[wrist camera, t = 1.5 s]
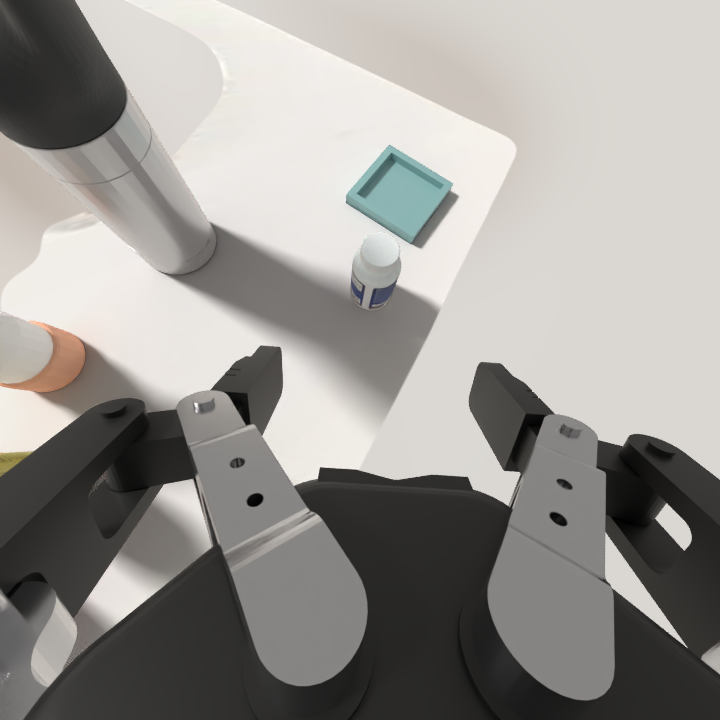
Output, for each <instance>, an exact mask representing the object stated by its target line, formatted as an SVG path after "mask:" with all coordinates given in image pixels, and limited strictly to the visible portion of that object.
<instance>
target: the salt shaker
mask: <svg viewBox="0 0 720 720" xmlns="http://www.w3.org/2000/svg"><path fill="white" fill-rule="evenodd" d="M85 355H86V352H85V349H84V345H83V343H82V342H81V341H80V340H79V338H78V337H76V336H74V335H73V334H71V333H69V332H66V331H64V330H61V329H58V328H55V327H53V326H50V325H47V324H44V323H41V322H36V321H25V320H23V319H20V318H18V317H15V316H13V315H10V314H7V313H5V312H1V311H0V386H2V387H7V388H13V389H20V390H28V391H36V392H51V391H55V390H58V389H61V388H63V387H65V386H66V385H68V384H69V383H71V382H72V381H74V379H75V378H76V377H77V376H78V375H79V373H80V372H81V370H82V368H83V366H84V363H85Z"/></svg>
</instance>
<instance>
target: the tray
mask: <svg viewBox="0 0 720 720" xmlns="http://www.w3.org/2000/svg"><path fill="white" fill-rule="evenodd" d="M452 185H453V183H451V182H450V181H448V180H446V179H445V178H443V177H441V176H440V175H438V174H437V173H435V172H433V171H432V170H430V169H428V168H427V167H425V166H423V165H422V164H420V163H419V162H417V161H415V160H414V159H412V158H410V157H409V156H407V155H406V154H404V153H402V152H401V151H399V150H397V149H396V148H394V147H392V146H391V145H389V146H388V147H387V148H386V149H385V150H384V152H383V153H382V154H381V155H380V156H379V157H378V159H377V160H376V161H375V162H374V163H373V164H372V166H371V167H370V168H369V169H368V170H367V171H366V172H365V174H364V175H363V176H362V177H361V178H360V179H359V181H358V182H357V183H356V184H355V185H354V186H353V188H352V189H351V190H350V191H349V192H348V193H347V195H346V203H347V204H349V205H350V206H352V207H354V208H355V209H357V210H358V211H360V212H361V213H363V214H364V215H366V216H368V217H369V218H371V219H372V220H374V221H375V222H377V223H379V224H380V225H382V226H383V227H385V228H386V229H388V230H390V231H391V232H393V233H394V234H396V235H397V236H399V237H401V238H402V239H404V240H405V241H407V242H408V243H410V244H411V243H412V242H413V240H414V239H415V238H416V236H417V235H418V234H419V232H420V231H421V230H422V228H423V227H424V226H425V224H426V223H427V222H428V220H429V219H430V218H431V216H432V215H433V213H434V212H435V211H436V209H437V208H438V207H439V205H440V204H441V203H442V201H443V200H444V199H445V197H446V196H447V195H448V193H449V192H450V190H451V188H452Z"/></svg>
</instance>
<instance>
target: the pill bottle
mask: <svg viewBox="0 0 720 720" xmlns="http://www.w3.org/2000/svg"><path fill="white" fill-rule="evenodd" d="M399 255H400V246H399V244H398V242H397V240H396V239H395V238H394V237H393V236H391V235H389V234H387V233H383V232H376V233H372V234H370V235H368V236H367V237H366V238H365V239H364V241H363V242H362V246H361V248H359V250H358V251H357V252H356V254H355V256H354V259H353V264H352V276H351V297H352V299H353V301H354V302H355V303H356V305H358V306H359V307H361V308H363V309H366V310H378V309H380V308H382V307H384V306H385V305H386V304H387V302H388V301H389V299H390V297H391V294H392V292H393V289H394V287H395V284H396V282H397V279H398V277H399V274H400V271H401V260H400V257H399Z"/></svg>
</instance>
